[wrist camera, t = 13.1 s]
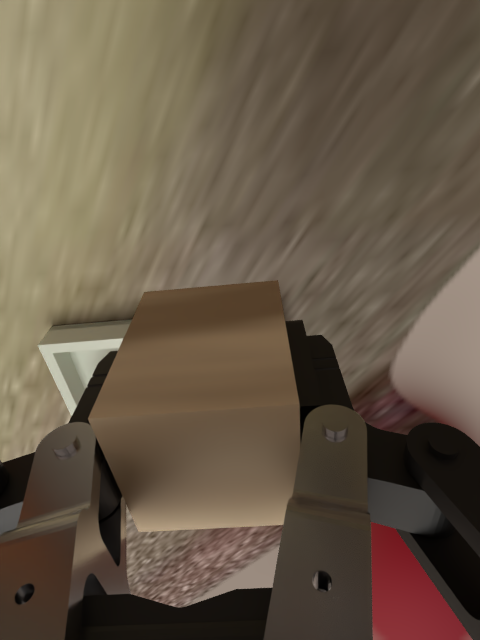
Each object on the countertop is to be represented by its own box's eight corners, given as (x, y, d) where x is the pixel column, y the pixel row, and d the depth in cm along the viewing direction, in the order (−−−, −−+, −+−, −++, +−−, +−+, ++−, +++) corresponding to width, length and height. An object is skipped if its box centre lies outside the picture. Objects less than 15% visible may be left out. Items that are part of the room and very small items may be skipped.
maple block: (144, 291, 11) (88, 418, 7) (278, 280, 11) (299, 404, 7) (170, 390, 14) (138, 531, 9) (283, 382, 13) (302, 523, 9)
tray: (52, 326, 30) (37, 345, 28) (278, 307, 29) (281, 325, 27) (97, 428, 36) (88, 450, 34) (284, 415, 35) (287, 437, 33)
